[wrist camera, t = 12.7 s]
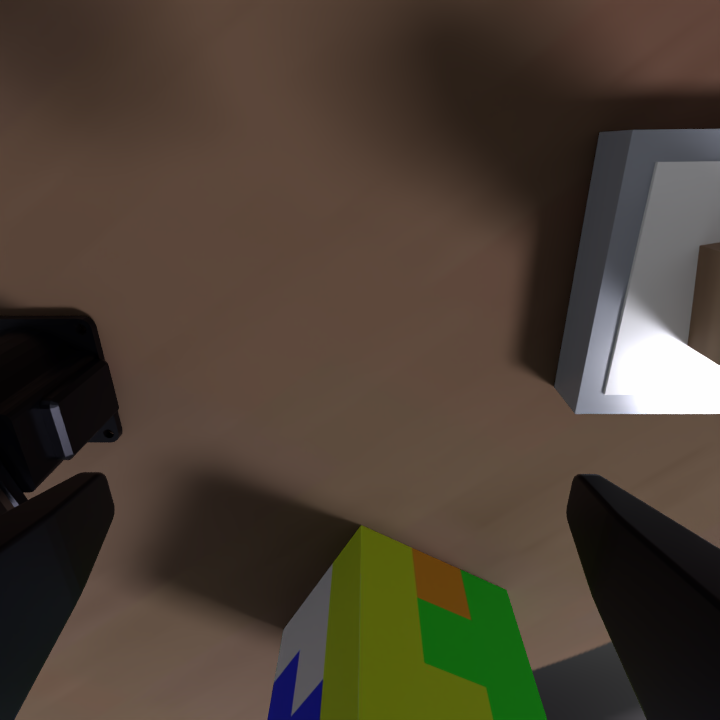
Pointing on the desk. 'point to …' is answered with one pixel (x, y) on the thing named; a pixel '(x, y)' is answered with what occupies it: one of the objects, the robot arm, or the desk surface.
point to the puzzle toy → (402, 643)
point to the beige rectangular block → (706, 304)
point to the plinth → (642, 277)
